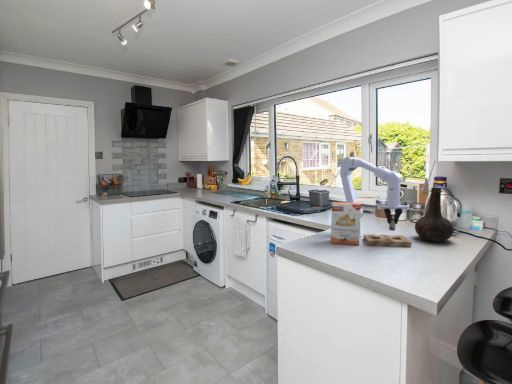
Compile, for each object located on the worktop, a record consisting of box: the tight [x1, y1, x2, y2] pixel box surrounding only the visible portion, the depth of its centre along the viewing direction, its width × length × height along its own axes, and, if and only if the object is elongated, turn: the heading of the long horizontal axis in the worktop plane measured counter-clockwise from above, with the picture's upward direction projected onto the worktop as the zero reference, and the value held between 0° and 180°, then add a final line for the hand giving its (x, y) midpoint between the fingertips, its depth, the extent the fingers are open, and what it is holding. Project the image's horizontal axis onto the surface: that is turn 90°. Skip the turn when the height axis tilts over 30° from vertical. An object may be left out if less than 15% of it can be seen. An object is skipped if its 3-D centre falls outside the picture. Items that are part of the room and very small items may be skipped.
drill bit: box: [388, 213, 396, 232], centre depth 147 cm, size 3×3×8 cm
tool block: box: [362, 233, 412, 248], centre depth 149 cm, size 20×12×2 cm, turn 81°
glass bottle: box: [414, 186, 455, 243], centre depth 152 cm, size 18×18×28 cm
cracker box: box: [330, 201, 362, 246], centre depth 148 cm, size 14×6×21 cm, turn 76°
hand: (392, 223), depth 148 cm, fingers closed on drill bit, 3 cm apart
